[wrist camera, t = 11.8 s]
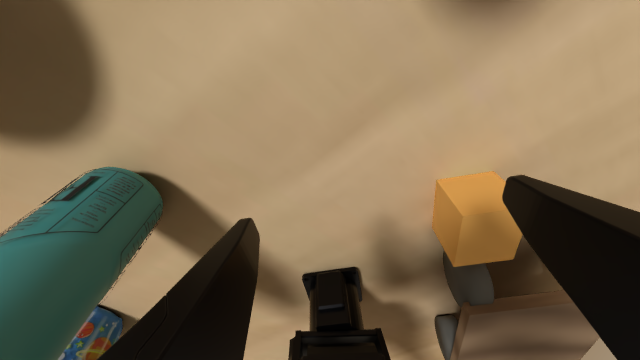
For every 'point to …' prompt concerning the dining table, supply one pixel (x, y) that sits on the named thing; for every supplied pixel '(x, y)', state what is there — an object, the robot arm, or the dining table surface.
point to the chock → (474, 220)
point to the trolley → (509, 322)
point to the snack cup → (94, 336)
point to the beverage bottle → (70, 259)
